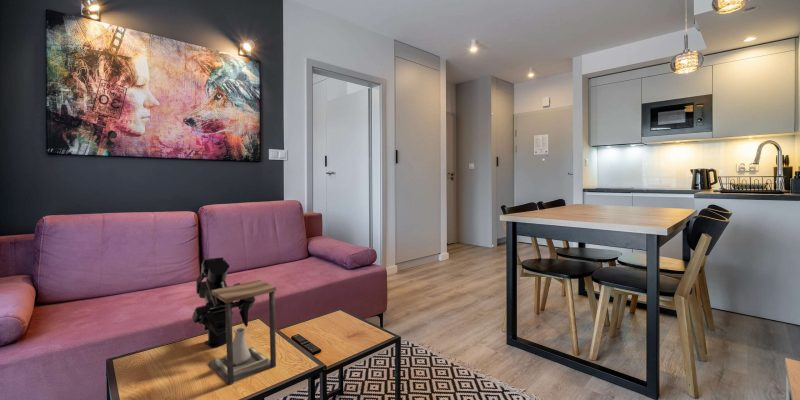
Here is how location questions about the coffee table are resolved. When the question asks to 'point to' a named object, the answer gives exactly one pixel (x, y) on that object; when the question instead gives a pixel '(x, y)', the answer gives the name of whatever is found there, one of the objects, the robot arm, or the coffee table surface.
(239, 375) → the wooden top side table
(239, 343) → the flask
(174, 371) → the coffee table surface
